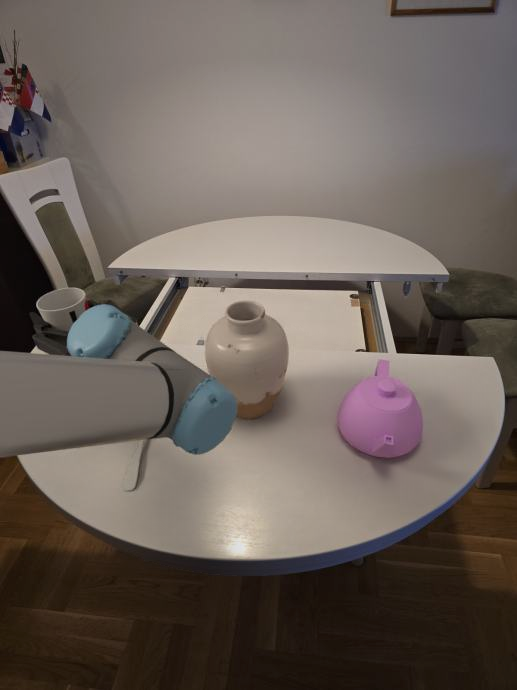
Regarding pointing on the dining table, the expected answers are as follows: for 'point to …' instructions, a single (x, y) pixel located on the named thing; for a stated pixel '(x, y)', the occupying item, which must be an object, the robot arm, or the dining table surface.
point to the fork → (133, 469)
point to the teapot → (381, 415)
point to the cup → (62, 307)
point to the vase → (248, 357)
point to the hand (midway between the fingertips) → (55, 309)
